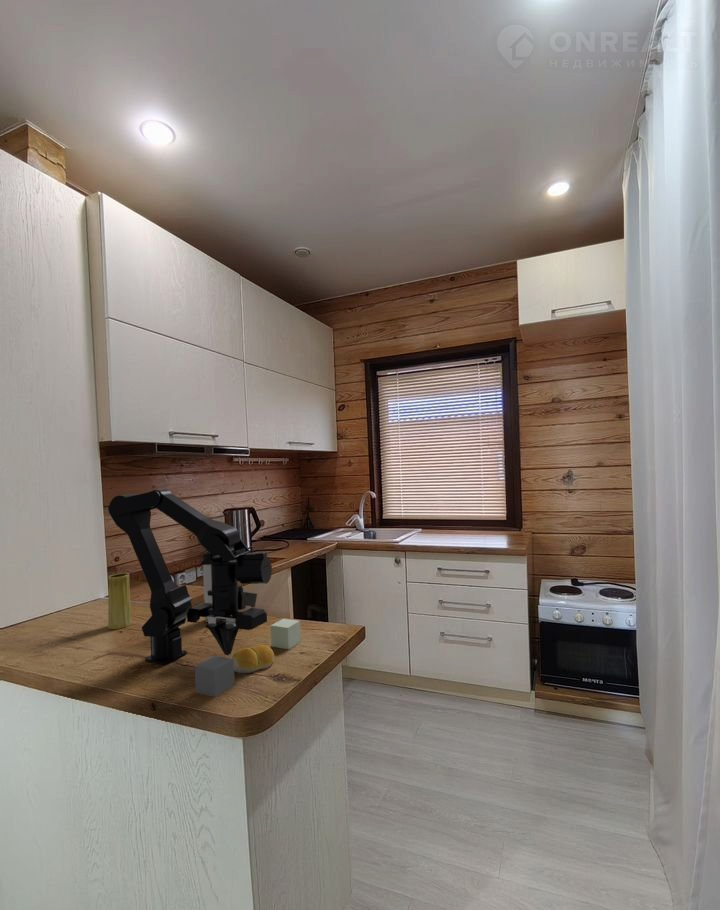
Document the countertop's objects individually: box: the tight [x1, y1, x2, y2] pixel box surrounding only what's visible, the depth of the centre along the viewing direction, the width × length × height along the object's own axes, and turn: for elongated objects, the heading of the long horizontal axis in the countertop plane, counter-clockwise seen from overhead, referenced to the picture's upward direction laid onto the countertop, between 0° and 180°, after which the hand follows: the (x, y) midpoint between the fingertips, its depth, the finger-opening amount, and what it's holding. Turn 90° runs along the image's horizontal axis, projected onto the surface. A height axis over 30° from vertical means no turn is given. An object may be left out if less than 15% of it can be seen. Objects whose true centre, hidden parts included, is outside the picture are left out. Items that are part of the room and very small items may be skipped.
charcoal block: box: [194, 655, 235, 698], centre depth 84 cm, size 5×5×5 cm
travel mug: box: [202, 551, 212, 623], centre depth 126 cm, size 6×7×20 cm
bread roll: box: [231, 644, 275, 674], centre depth 95 cm, size 8×9×4 cm
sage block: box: [270, 618, 302, 650], centre depth 105 cm, size 5×5×5 cm
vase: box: [107, 572, 133, 630], centre depth 125 cm, size 6×6×14 cm
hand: (227, 654), depth 97 cm, fingers closed
